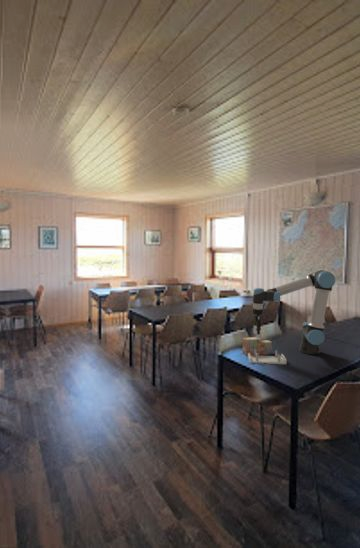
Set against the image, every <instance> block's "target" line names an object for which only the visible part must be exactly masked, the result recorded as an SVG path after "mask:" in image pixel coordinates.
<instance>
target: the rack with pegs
mask: <svg viewBox="0 0 360 548" xmlns="http://www.w3.org/2000/svg"><path fill="white" fill-rule="evenodd" d="M247 358H248V361H249V364H264V363H266V364H265V365H267V364H271V365H272V364H273V365H287V362H288V361H287V358H286V357H285V355H284V354H283V353H281V354H280V353H278V349H275V350H274V356H273V355H258V353H256V349H254V355H250V353H248V356H247Z"/></svg>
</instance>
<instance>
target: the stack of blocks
mask: <svg viewBox="0 0 360 548" xmlns="http://www.w3.org/2000/svg"><path fill="white" fill-rule="evenodd" d="M254 349H256V353H258V356H264V355H272V354H273V353H272V352H273V342H272V341H270V340H268V339H265V340H262V338H260V339H256V336H251V337H243V338H242V354H243V355H244V356H247V357H248V353H250V355H254Z"/></svg>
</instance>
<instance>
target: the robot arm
mask: <svg viewBox="0 0 360 548" xmlns="http://www.w3.org/2000/svg"><path fill="white" fill-rule="evenodd" d="M335 276H336V275H334V274H333V273H332V272H331V271H328V270H318V271H315V272H312V273H309V274H307V276H305V277H302V278H299V279H297V280H294V281H290V282H288V283H285V284H281V285H279V286H276V287H273V288H268V289H266V290H265V289H264V288H262V287H255V288H254V289H253V292H252V293H253V295H252V297H253V298H252V314H253V315H254V318H253V319H254V320H253V335H256V336H255V337H256V339H261V330H262V328H261V327H262V325H261V323H262V322H261V318H262V317H261V316H260V315H263V314H264V302H269V303H270V302H272V303H276V302H277V303H279V302H280V301H281V297H282V296H285V295H288V294H290V293H294V292H297V291H300V290H302V289H305V288H308V287H311V288H312V287H314V289H315V295H314V301H313V307H312V311H311V317H310V321H308V322H306V321H304V322H303V323H302V326H301V327H302V328H301V329H302V331H301V332H302V334H301V342H300V345H299V352H300V353H302V354H306V355H314V356H315V355H320V354H321V348H320V346H319V345H321V344H322V343H324V341H325V337H326V336H325V329H326V327H325V326H324V321H325V316H326V310H327V309H326V308H327V304H328V299H329V295H330V293H331V292H332V291H333V286H334V285H335V283H336V277H335Z"/></svg>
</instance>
